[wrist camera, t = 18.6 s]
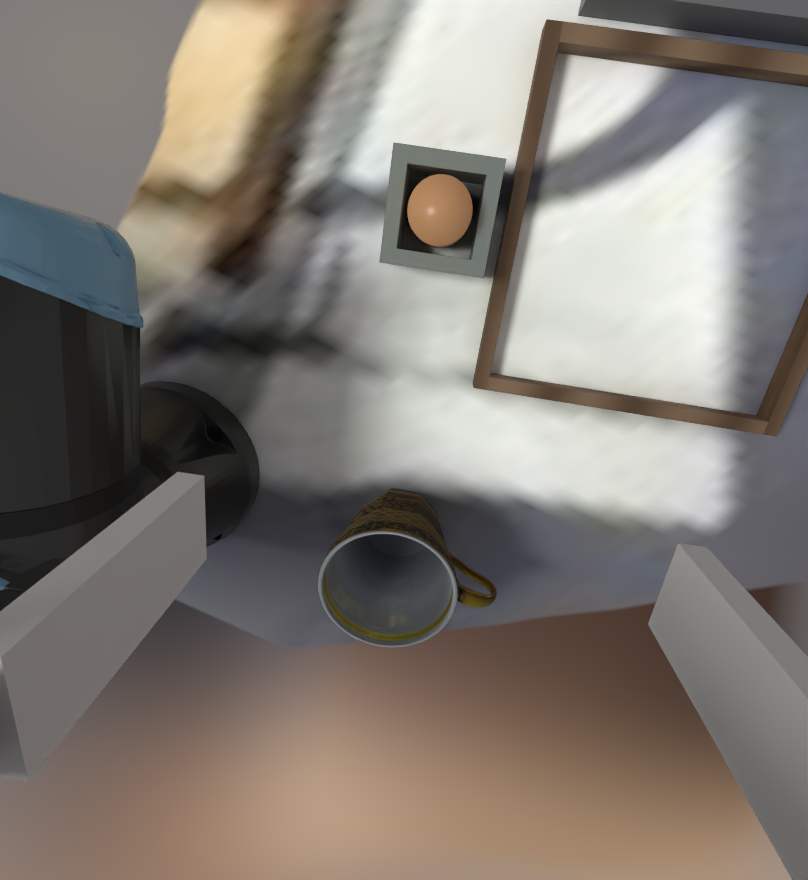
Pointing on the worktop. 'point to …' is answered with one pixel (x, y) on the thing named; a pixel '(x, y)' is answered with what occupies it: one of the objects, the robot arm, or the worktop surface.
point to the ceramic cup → (395, 574)
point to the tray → (712, 16)
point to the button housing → (429, 164)
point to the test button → (440, 210)
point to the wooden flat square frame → (556, 37)
